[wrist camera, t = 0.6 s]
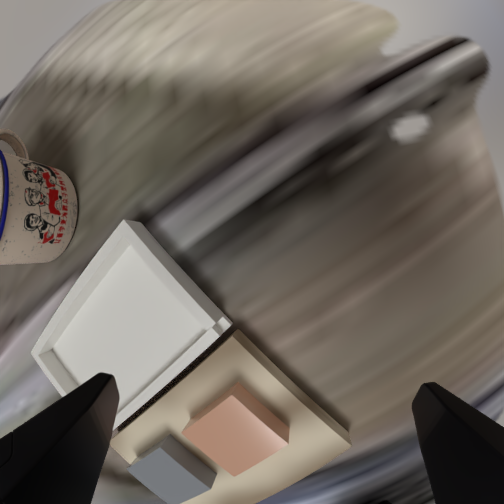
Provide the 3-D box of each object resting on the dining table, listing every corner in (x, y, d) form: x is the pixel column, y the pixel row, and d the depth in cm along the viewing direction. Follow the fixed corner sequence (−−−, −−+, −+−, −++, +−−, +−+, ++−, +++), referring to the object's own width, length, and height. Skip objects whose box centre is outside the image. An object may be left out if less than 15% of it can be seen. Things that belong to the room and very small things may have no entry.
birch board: (348, 432, 20) (352, 446, 18) (212, 510, 22) (207, 523, 20) (238, 328, 21) (232, 335, 19) (118, 432, 23) (107, 442, 21)
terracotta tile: (289, 428, 19) (288, 443, 17) (239, 461, 19) (234, 477, 17) (238, 381, 19) (231, 394, 17) (190, 419, 20) (180, 432, 18)
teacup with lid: (90, 249, 23) (-26, 249, 11) (27, 275, 24) (-69, 283, 12) (74, 124, 23) (-17, 77, 12) (15, 163, 24) (-68, 141, 13)
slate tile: (217, 473, 19) (211, 489, 17) (179, 493, 20) (172, 507, 18) (170, 433, 20) (160, 447, 18) (136, 456, 20) (126, 469, 18)
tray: (233, 323, 21) (225, 332, 19) (114, 428, 23) (100, 440, 20) (140, 222, 22) (123, 219, 20) (47, 346, 24) (30, 352, 21)
